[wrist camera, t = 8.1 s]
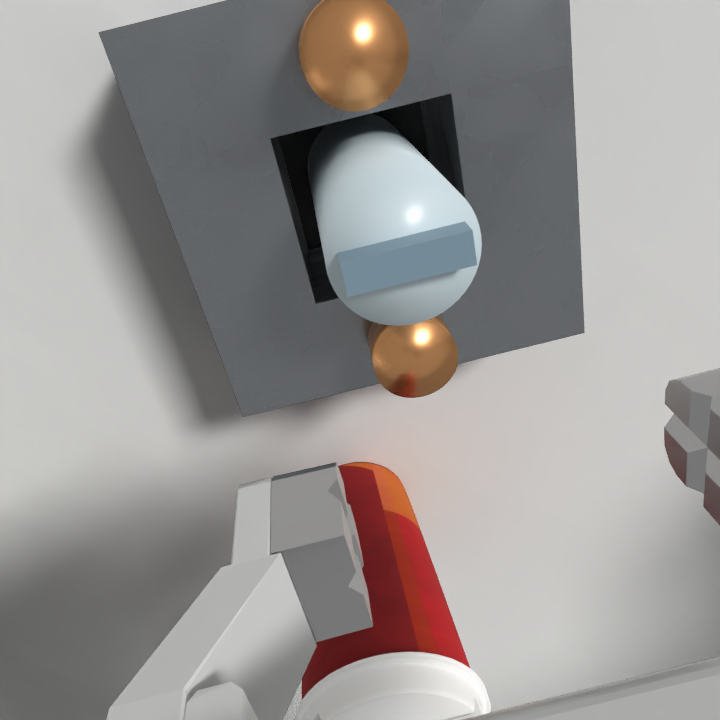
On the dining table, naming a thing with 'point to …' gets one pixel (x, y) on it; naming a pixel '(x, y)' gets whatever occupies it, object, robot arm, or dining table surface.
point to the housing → (307, 110)
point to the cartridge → (389, 224)
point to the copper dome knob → (353, 52)
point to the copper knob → (413, 356)
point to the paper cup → (392, 624)
